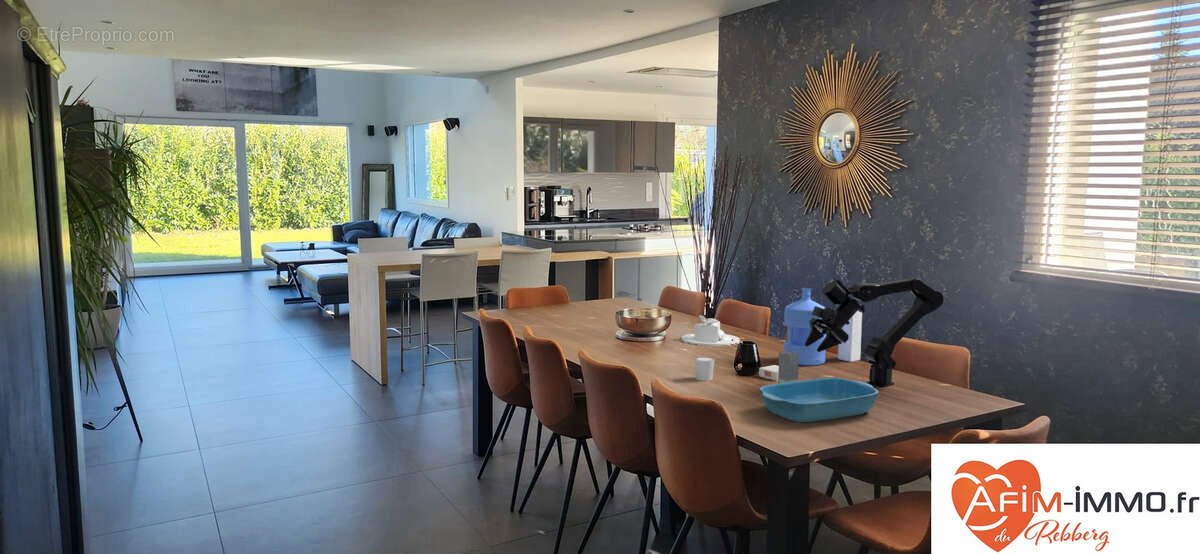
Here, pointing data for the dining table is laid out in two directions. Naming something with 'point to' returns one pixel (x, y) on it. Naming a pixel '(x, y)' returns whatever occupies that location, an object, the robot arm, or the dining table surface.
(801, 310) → the water jug
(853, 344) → the milk
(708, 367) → the white cylinder
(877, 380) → the robot arm
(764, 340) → the dining table surface
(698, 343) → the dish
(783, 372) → the column
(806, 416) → the casserole dish
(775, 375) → the white flat box
